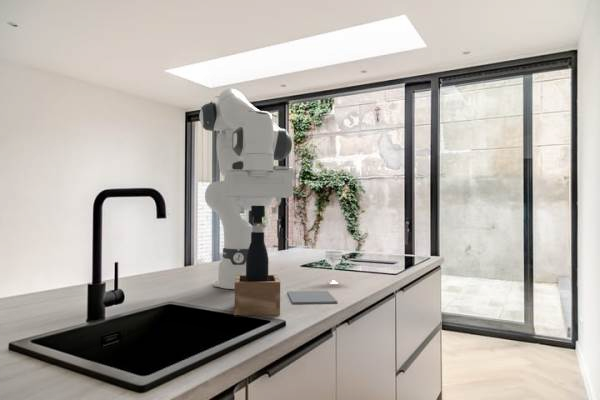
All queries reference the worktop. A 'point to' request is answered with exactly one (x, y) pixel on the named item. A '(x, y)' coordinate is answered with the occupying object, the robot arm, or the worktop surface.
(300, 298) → the grey mat
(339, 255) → the wineglass
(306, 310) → the worktop surface
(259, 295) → the walnut crate
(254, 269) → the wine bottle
